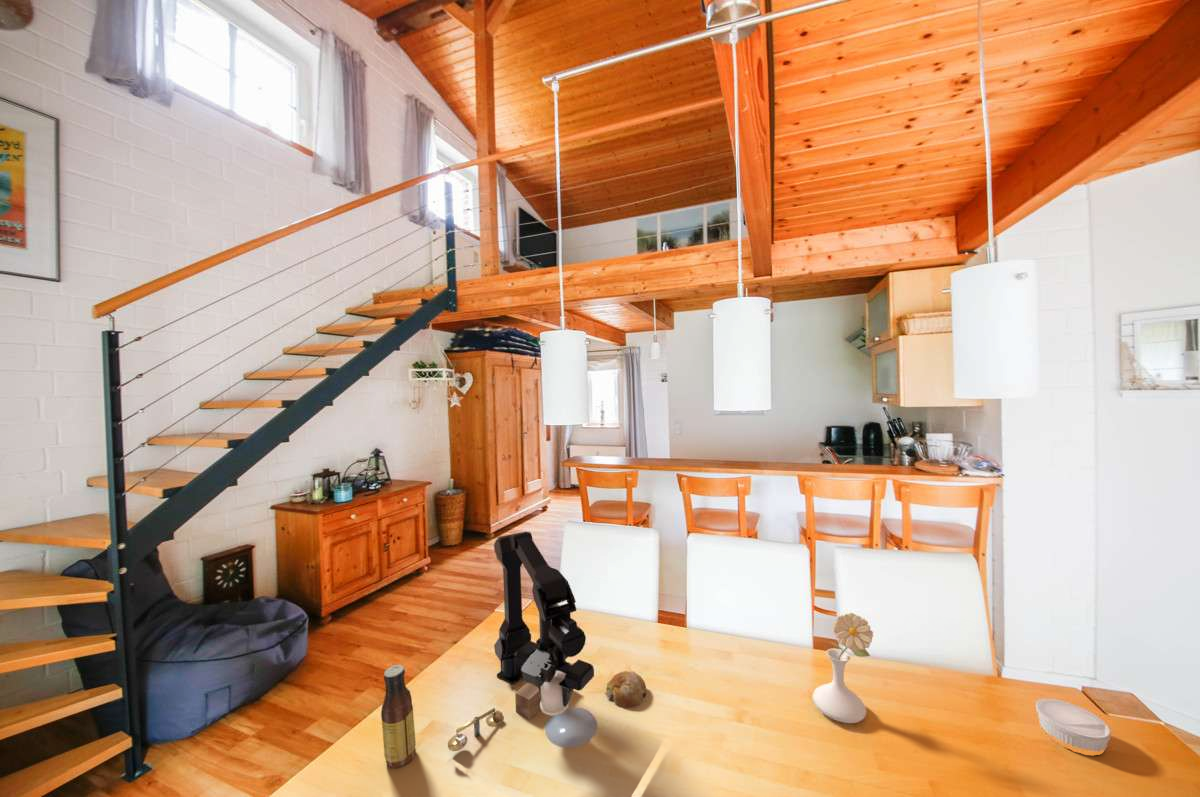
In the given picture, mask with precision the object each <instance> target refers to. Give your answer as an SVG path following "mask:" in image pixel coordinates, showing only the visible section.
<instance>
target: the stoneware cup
mask: <svg viewBox="0 0 1200 797" xmlns="http://www.w3.org/2000/svg"><path fill="white" fill-rule="evenodd" d="M564 677H565V673H563V672H561V671H556V674H555V675H554V677H553V678H552V680H551V682H549V683H548V682H544V684H543V685H542V686H541V702H540V708H541V709H540V710H541V712H542V713H543V714H544V715H548V716H552V715H559V714H561V713H563V712H564V711H565V710H566V709H567V708H569V704H570V702H568V704H567V706H566V707H564V706H563V693H562V686H560V685H559V683H560V682H561V681H562V680H563V679H564Z"/></svg>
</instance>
